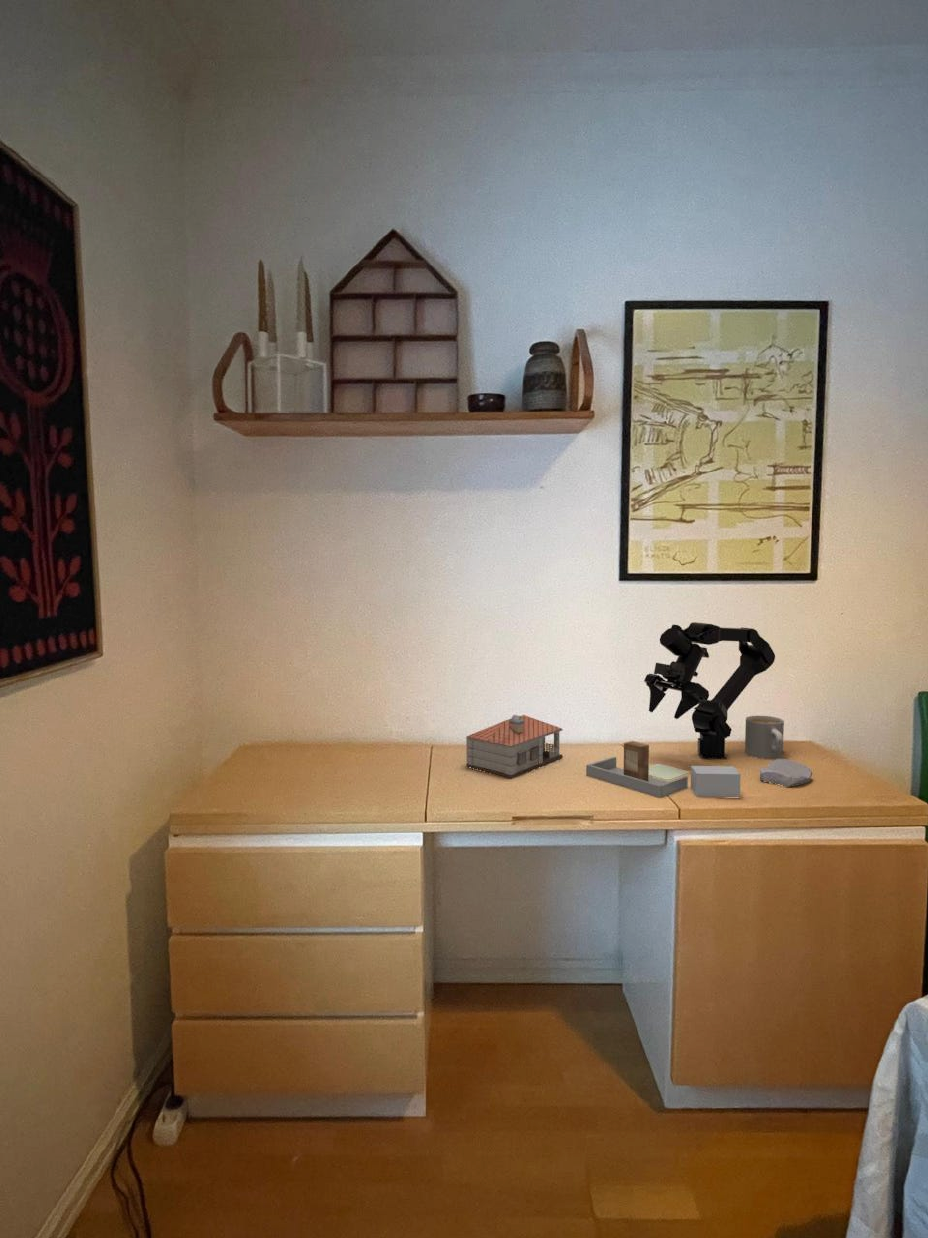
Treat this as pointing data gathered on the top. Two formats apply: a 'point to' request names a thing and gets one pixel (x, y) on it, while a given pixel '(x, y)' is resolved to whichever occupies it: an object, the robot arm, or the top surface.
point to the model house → (513, 747)
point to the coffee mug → (764, 737)
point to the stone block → (785, 773)
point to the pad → (665, 772)
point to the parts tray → (634, 779)
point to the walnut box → (636, 760)
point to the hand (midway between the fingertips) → (662, 715)
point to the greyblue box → (715, 781)
